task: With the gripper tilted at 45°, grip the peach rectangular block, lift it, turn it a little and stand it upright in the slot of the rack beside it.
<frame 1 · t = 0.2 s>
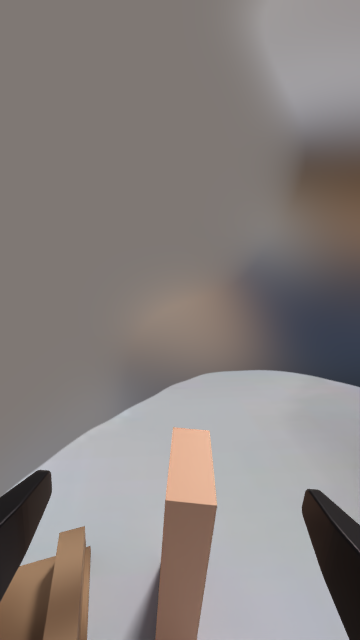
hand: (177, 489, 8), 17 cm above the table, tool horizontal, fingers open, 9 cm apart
peach rectangular block: (176, 601, 17), on the table
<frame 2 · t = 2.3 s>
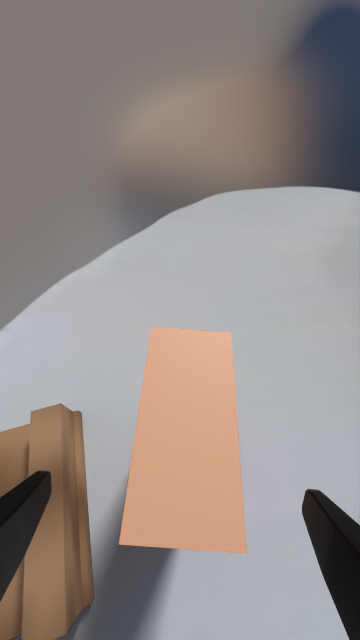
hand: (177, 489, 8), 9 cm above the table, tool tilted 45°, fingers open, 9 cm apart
peach rectangular block: (174, 453, 17), on the table
rack: (20, 512, 15), on the table
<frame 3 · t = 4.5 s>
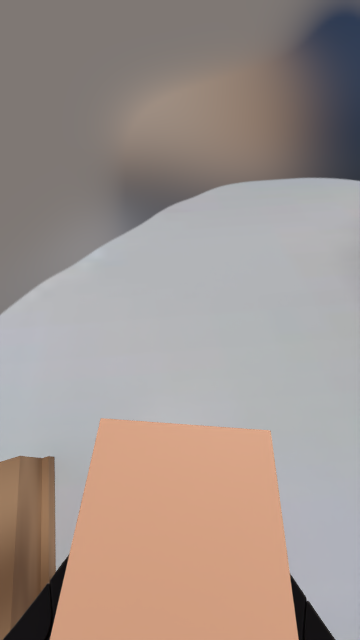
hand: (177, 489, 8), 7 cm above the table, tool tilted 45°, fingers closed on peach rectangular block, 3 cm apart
peach rectangular block: (172, 513, 13), on the table, touching gripper
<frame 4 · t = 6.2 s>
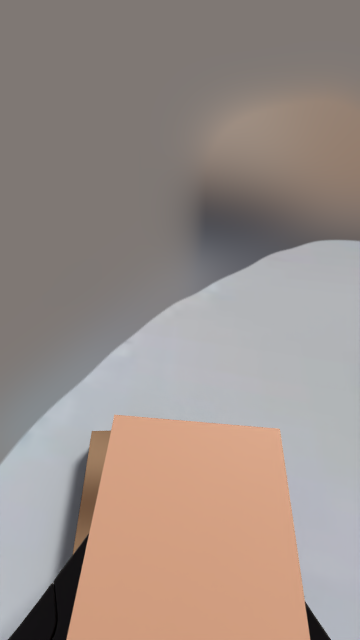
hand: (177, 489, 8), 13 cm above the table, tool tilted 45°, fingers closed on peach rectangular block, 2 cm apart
peach rectangular block: (173, 512, 13), point 7 cm above the table, touching gripper
rack: (139, 505, 18), on the table
when the fingers open (8 cm above the table, at t = 8.2 s): peach rectangular block drops 1 cm, resting on rack.
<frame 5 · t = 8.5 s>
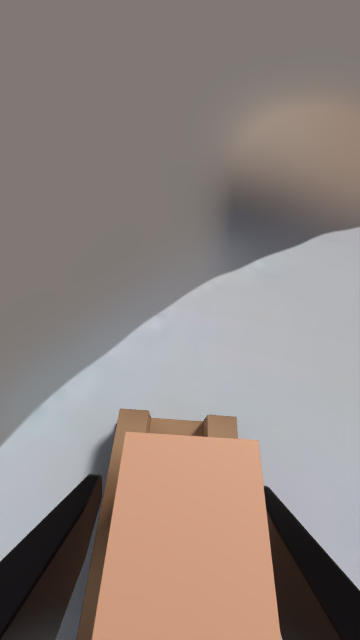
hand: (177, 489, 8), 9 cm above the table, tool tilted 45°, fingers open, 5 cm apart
peach rectangular block: (172, 509, 14), point 1 cm above the table, touching rack
rack: (171, 507, 15), on the table
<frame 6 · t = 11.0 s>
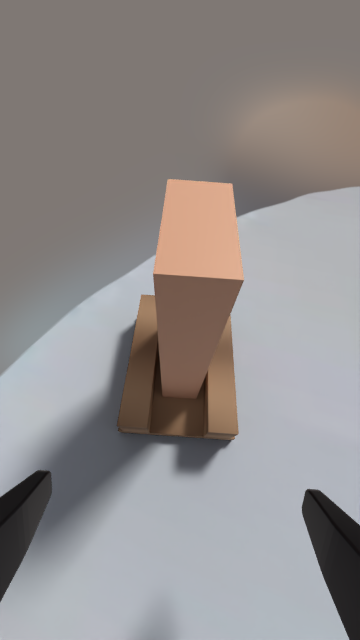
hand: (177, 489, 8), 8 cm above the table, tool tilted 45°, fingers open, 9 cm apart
peach rectangular block: (181, 365, 19), point 1 cm above the table, touching rack
rack: (180, 369, 19), on the table
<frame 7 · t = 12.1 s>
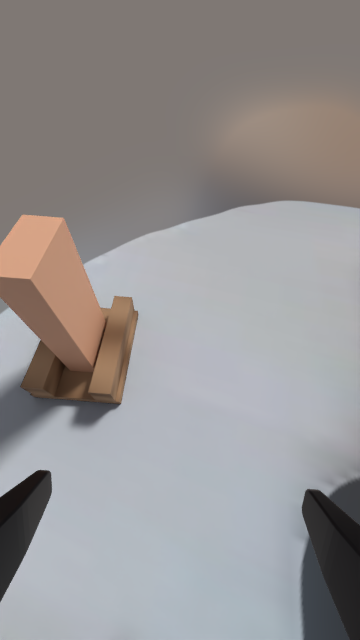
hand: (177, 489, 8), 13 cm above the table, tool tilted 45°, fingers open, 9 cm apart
peach rectangular block: (90, 348, 24), point 1 cm above the table, touching rack
rack: (92, 351, 24), on the table
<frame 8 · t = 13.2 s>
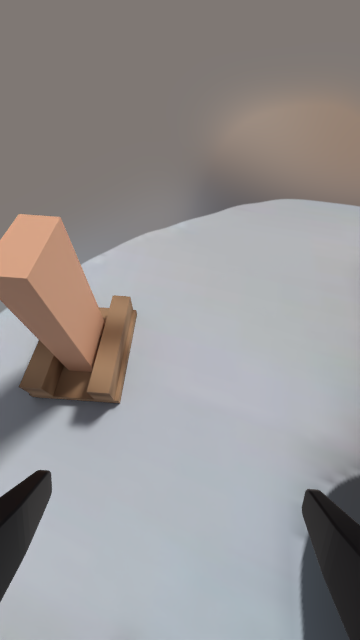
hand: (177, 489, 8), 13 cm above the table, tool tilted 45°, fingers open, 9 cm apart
peach rectangular block: (89, 347, 24), point 1 cm above the table, touching rack
rack: (90, 351, 24), on the table
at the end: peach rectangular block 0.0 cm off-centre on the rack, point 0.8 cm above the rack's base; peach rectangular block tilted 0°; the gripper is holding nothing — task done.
